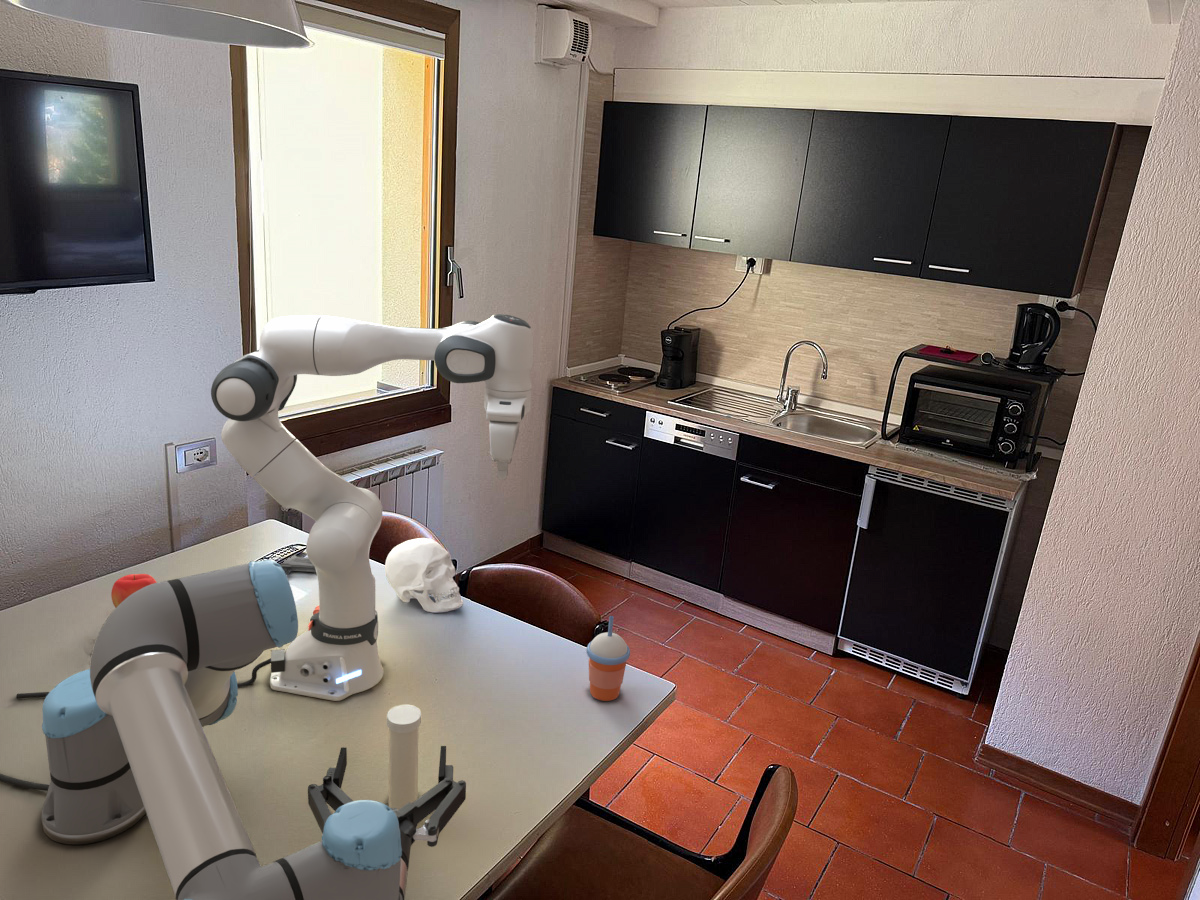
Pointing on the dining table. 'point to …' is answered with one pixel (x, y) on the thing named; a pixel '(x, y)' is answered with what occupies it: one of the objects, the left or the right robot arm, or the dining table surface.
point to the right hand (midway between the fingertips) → (504, 470)
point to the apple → (129, 586)
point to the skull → (423, 575)
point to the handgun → (297, 564)
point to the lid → (403, 718)
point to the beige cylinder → (403, 768)
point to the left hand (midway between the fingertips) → (394, 754)
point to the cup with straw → (607, 664)
